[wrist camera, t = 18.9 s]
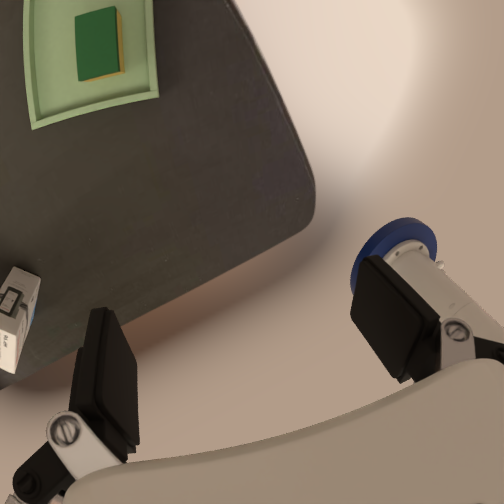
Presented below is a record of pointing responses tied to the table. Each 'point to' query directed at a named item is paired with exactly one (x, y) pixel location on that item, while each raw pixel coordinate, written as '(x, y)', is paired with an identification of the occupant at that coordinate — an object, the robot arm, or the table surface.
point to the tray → (65, 66)
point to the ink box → (16, 314)
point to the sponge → (99, 44)
